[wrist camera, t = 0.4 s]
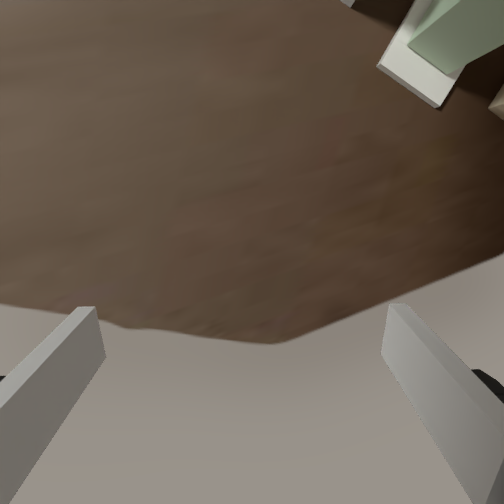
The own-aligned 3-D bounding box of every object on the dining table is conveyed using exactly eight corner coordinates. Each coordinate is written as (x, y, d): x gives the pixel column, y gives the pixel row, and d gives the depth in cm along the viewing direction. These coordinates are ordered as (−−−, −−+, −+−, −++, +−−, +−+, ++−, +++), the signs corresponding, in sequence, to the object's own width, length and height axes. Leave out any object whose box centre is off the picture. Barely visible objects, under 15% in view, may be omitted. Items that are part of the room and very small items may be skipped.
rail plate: (434, 108, 37) (440, 106, 36) (376, 66, 36) (380, 63, 35) (529, -46, 35) (538, -52, 34) (470, -97, 33) (478, -106, 32)
